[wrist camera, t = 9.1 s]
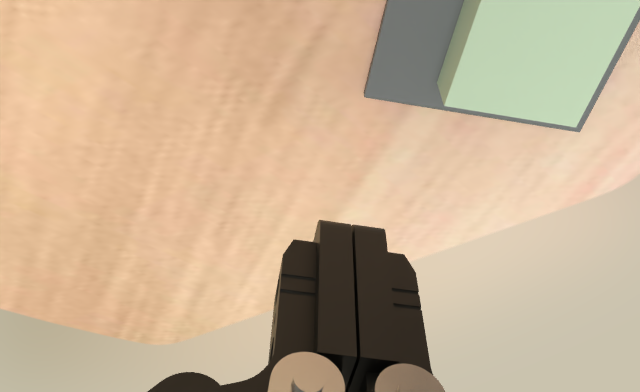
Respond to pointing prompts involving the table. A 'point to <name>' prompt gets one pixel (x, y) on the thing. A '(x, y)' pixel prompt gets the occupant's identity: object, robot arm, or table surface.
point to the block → (532, 56)
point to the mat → (435, 57)
